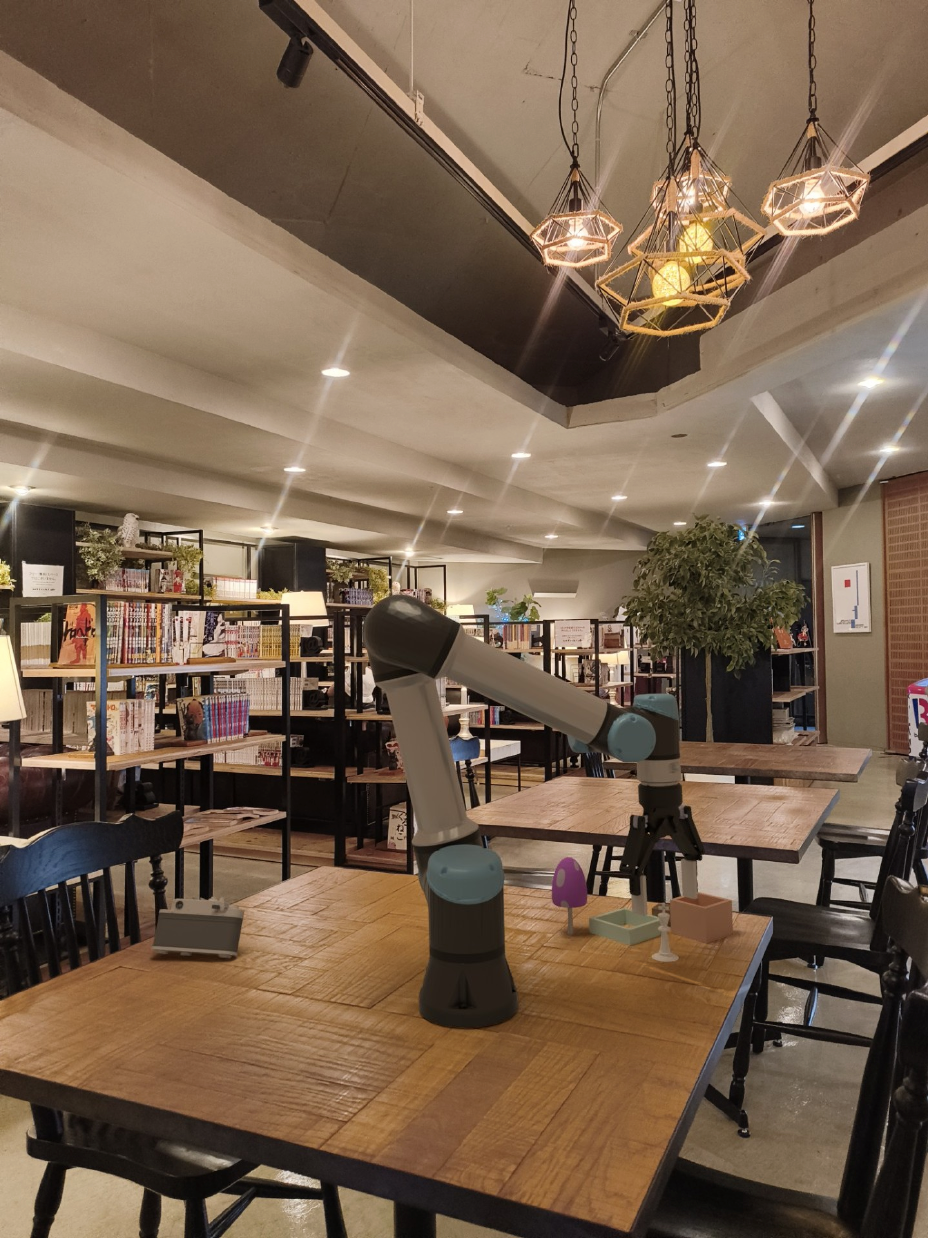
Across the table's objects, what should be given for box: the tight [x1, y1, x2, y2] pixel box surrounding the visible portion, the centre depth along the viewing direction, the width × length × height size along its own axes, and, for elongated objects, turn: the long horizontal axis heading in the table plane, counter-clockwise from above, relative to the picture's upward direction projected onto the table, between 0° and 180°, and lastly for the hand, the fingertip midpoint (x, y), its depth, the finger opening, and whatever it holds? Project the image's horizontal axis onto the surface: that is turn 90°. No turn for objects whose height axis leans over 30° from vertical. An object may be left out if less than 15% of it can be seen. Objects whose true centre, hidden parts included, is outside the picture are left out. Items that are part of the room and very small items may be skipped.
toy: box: [551, 856, 588, 939], centre depth 165 cm, size 7×7×15 cm
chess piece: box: [651, 902, 679, 963], centre depth 151 cm, size 5×5×10 cm
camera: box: [150, 896, 245, 959], centre depth 163 cm, size 9×16×10 cm, turn 84°
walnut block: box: [651, 902, 671, 928], centre depth 170 cm, size 4×4×4 cm
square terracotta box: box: [669, 891, 734, 945], centre depth 163 cm, size 8×8×7 cm
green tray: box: [588, 907, 662, 946], centre depth 165 cm, size 10×10×4 cm
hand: (665, 905), depth 152 cm, fingers open, 13 cm apart
